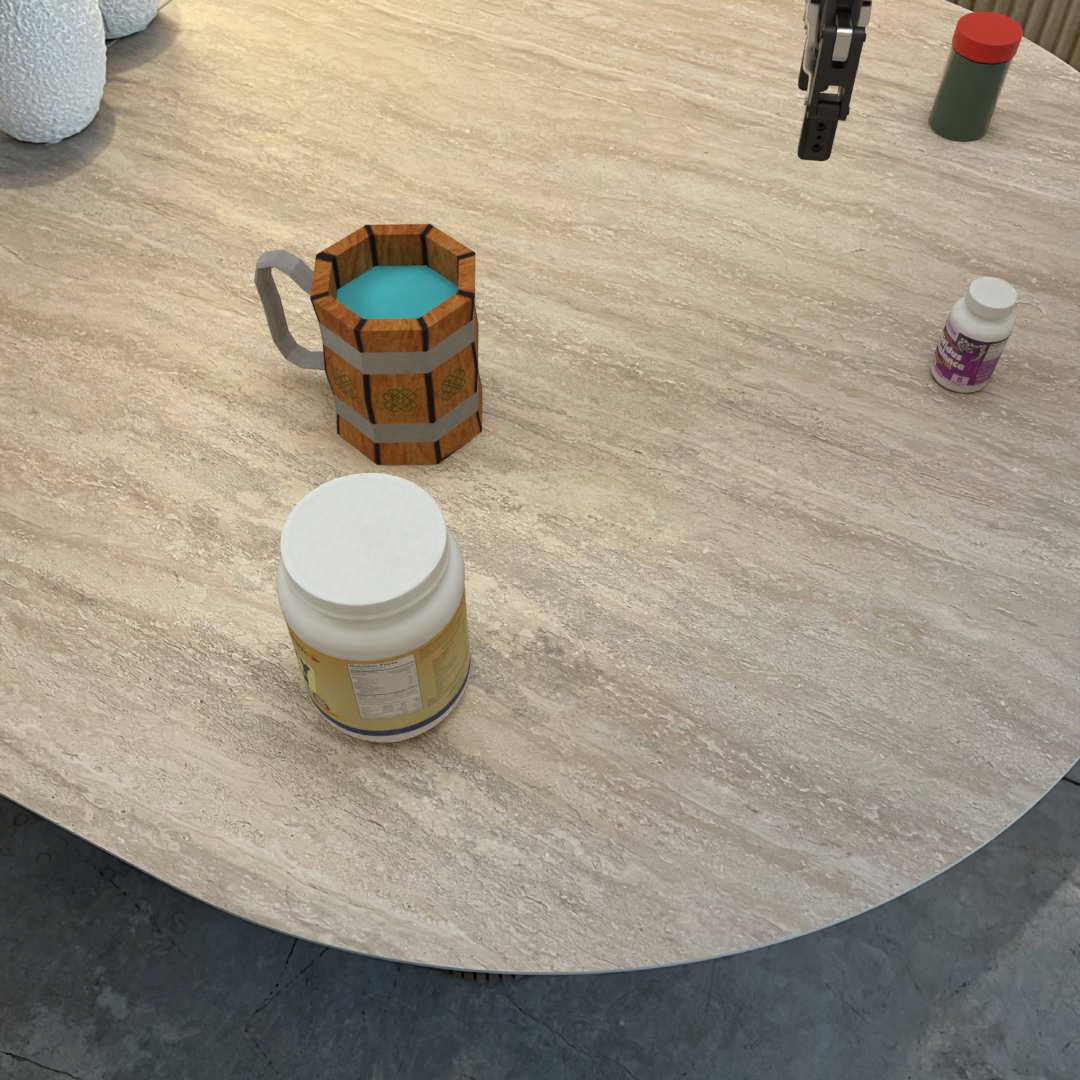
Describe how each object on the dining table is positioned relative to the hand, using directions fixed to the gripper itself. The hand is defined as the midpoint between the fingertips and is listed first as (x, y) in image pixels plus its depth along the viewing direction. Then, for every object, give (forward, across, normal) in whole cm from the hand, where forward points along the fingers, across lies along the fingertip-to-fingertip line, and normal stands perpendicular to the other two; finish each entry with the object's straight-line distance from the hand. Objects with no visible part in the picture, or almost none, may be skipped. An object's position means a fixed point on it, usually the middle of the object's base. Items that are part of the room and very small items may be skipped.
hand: (812, 122), depth 81 cm
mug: (+26, -6, +33) cm, 43 cm away
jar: (+27, +44, -21) cm, 56 cm away
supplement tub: (+26, -33, +26) cm, 50 cm away
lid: (+16, +45, -21) cm, 52 cm away
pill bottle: (+27, +4, -18) cm, 33 cm away
